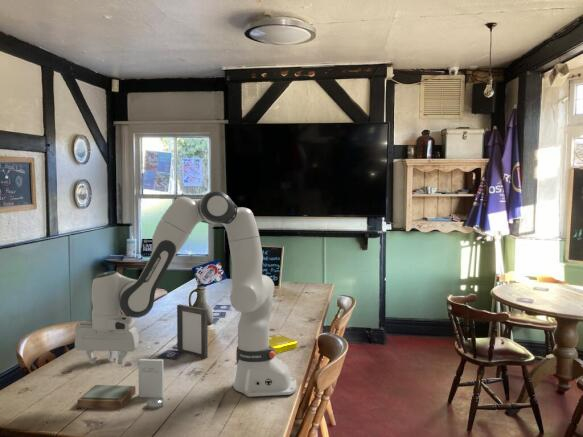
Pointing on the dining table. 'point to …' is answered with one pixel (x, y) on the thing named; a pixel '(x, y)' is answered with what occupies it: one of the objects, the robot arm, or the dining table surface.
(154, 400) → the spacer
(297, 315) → the dining table surface
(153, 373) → the external hard drive
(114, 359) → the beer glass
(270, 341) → the element tile
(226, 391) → the dining table surface
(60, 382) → the dining table surface
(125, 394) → the mirror
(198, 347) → the picture frame
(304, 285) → the dining table surface
